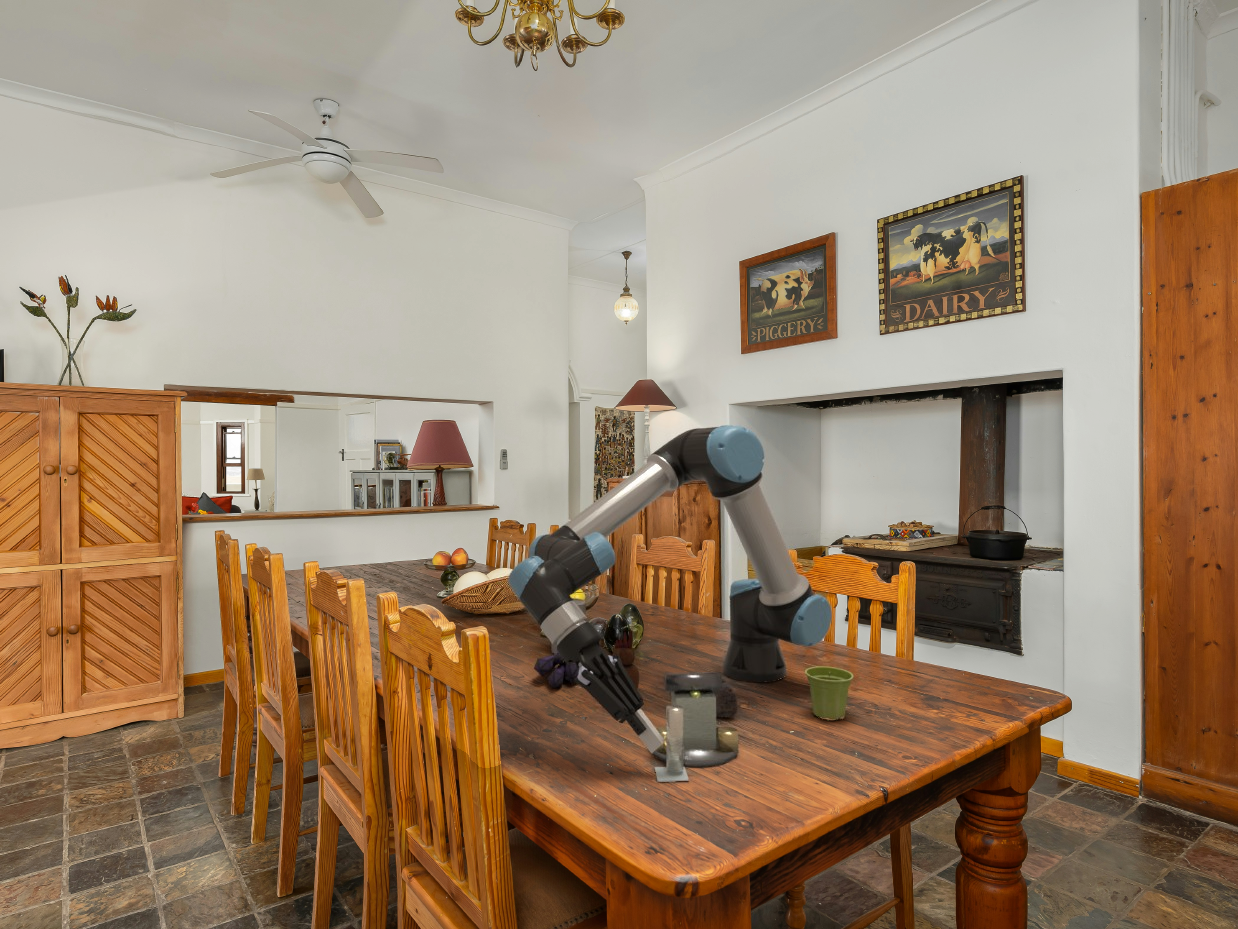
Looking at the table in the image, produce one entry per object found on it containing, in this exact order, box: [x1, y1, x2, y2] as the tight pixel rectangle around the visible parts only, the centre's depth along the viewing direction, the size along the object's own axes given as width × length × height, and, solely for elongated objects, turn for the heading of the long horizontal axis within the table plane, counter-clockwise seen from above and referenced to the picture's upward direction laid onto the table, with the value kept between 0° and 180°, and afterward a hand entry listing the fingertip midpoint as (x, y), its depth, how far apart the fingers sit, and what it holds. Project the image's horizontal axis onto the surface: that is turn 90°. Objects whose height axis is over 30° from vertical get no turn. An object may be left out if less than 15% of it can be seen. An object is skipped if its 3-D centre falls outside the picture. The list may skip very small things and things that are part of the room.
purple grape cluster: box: [533, 653, 579, 689], centre depth 162 cm, size 7×12×20 cm
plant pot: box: [804, 666, 854, 720], centre depth 137 cm, size 9×9×9 cm
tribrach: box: [651, 671, 739, 768], centre depth 122 cm, size 16×16×13 cm
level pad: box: [654, 766, 690, 783], centre depth 111 cm, size 5×5×1 cm
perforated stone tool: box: [713, 678, 739, 719], centre depth 141 cm, size 15×5×7 cm, turn 7°
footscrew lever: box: [655, 704, 684, 772], centre depth 115 cm, size 10×4×10 cm, turn 11°
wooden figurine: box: [611, 629, 640, 691], centre depth 148 cm, size 7×6×15 cm
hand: (658, 747), depth 111 cm, fingers closed
